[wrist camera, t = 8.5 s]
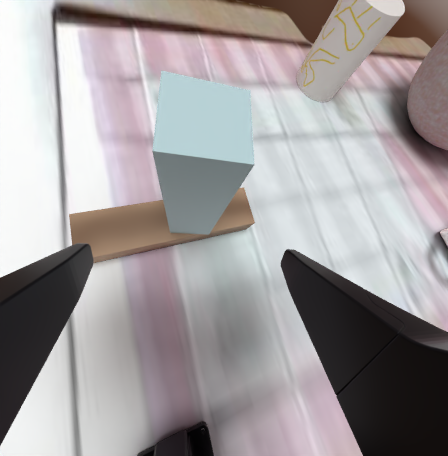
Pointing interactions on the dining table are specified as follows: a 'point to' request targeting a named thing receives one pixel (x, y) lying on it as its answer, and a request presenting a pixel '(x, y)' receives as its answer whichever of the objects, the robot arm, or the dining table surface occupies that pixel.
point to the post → (200, 149)
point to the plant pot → (431, 96)
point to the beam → (147, 227)
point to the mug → (445, 235)
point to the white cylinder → (345, 44)
